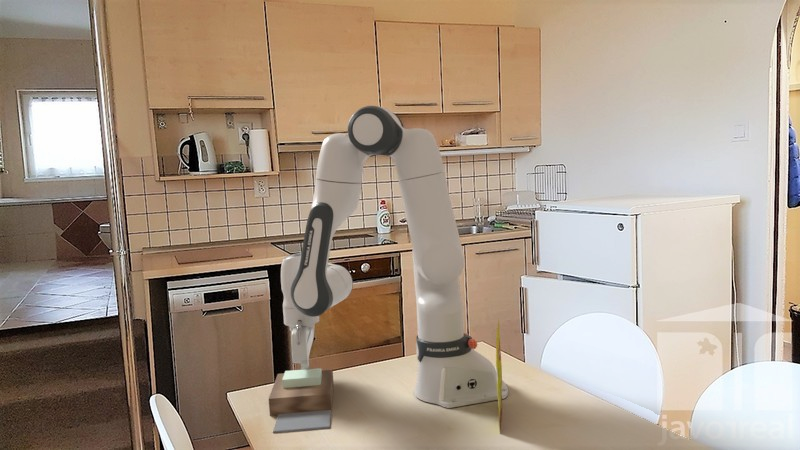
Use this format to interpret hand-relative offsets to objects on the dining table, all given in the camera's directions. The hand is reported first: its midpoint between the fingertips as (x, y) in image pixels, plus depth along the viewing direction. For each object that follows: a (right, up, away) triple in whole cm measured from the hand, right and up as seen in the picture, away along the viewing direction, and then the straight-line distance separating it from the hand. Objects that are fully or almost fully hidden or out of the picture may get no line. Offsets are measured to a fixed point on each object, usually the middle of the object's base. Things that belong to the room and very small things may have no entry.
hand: (305, 368), depth 146 cm
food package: (+46, -5, -22) cm, 51 cm away
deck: (+1, -6, -7) cm, 9 cm away
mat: (+3, -7, -19) cm, 21 cm away
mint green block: (0, -2, -6) cm, 6 cm away
